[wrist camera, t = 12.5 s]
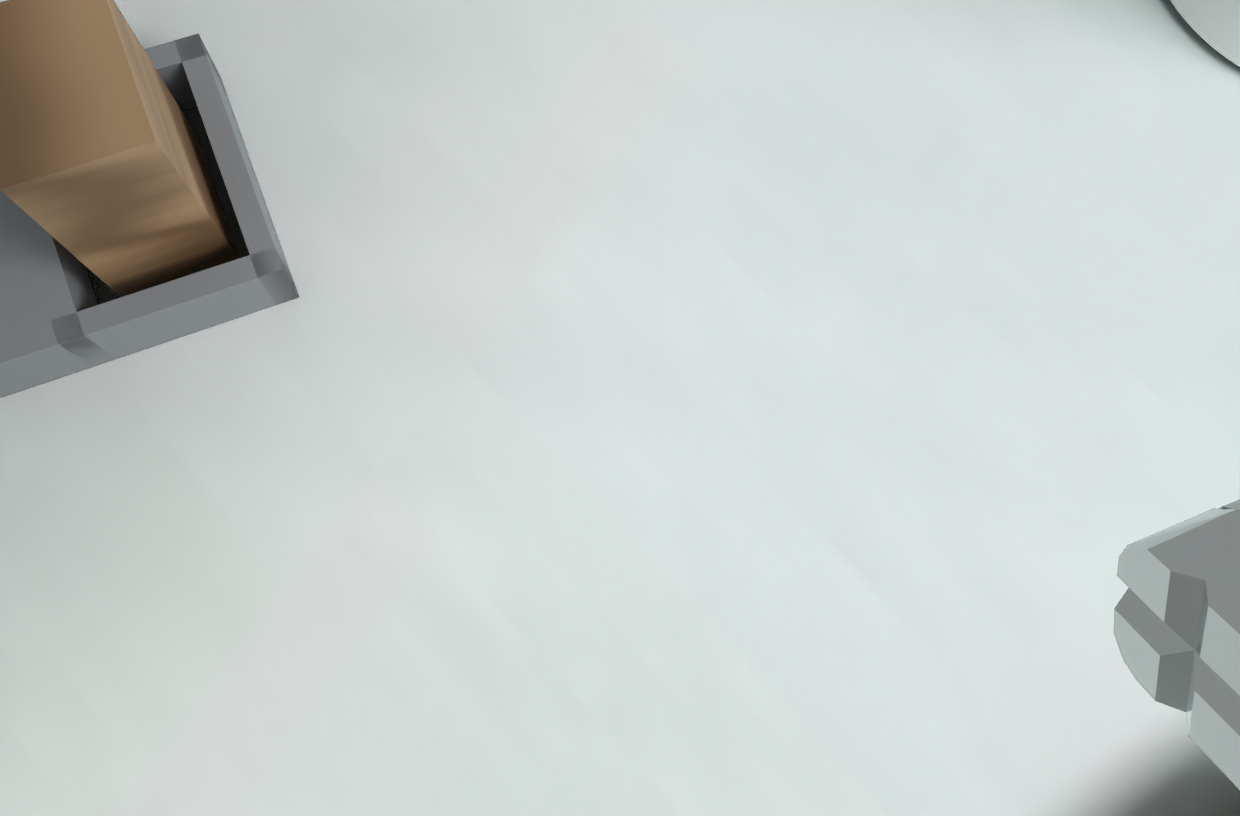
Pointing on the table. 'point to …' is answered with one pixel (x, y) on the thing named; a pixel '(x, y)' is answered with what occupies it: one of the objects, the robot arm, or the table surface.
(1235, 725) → the robot arm
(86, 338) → the grey l-shaped post
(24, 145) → the brown rectangular block
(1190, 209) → the table surface
